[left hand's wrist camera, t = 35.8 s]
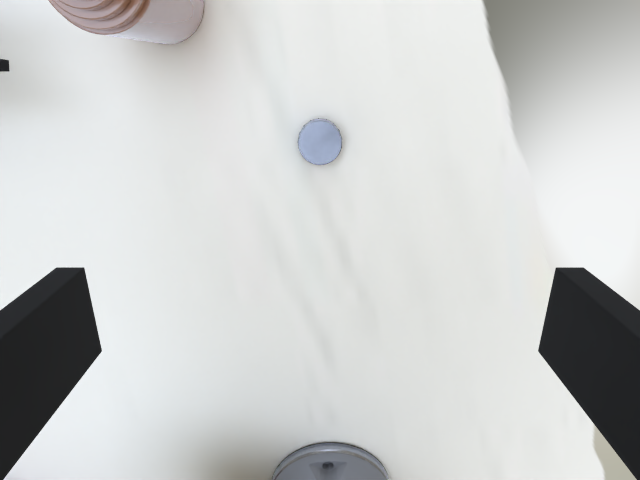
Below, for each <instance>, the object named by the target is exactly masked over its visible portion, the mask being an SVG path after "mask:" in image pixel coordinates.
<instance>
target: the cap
mask: <svg viewBox="0 0 640 480" xmlns="http://www.w3.org/2000/svg"><path fill="white" fill-rule="evenodd" d="M298 146H299V151H300V153H301V154H302V156H303V157H304V158H305V159H306V160H307V161H308V162H310V163H312V164H316V165H324V164H328V163H330V162H332V161H333V160H334V159H335V158H336V157H337V156H338V155H339V153H340V150H341V148H342V137H341V135H340V131H339V129H338V128H337V127H336V126H335V125H334V123H332V122H330V121H328V120H327V119H326V120H325V119H319V118H318V119H315V120H312V121H311V120H310V122H308V123H307V124H306V125H304V127H303V128H302V130H301V132H300V133H299V139H298Z"/></svg>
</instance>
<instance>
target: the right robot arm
mask: <svg viewBox="0 0 640 480" xmlns="http://www.w3.org/2000/svg"><path fill="white" fill-rule="evenodd" d="M0 71H9V60H3V59H0Z"/></svg>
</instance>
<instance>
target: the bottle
mask: <svg viewBox="0 0 640 480" xmlns="http://www.w3.org/2000/svg"><path fill="white" fill-rule="evenodd" d="M49 2H50V3H51V4H52V5H53V7H54V8H55V9H56V10H57V11H58V12H59V13H60V14H62V15H63V16H64V17H65V18H66V19H67V20H68V21H70V22H71V23H72V24H74V25H75V26H77V27H79V28H81V29H83V30H85V31H88V32H91V33H95V34H100V35H107V36H114V37H120V38H127V39H134V40H141V41H148V42H155V43H161V44H175V43H179V42H182V41H184V40H186V39H187V38H189V37H190V36H191V35H192V34H193V33H194V32H195V31H196V30H197V28H198V26H199V25H200V22H201V20H202V16H203V11H204V0H49Z"/></svg>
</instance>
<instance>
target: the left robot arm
mask: <svg viewBox="0 0 640 480" xmlns="http://www.w3.org/2000/svg"><path fill="white" fill-rule="evenodd" d="M101 351H102V350H101V345H100V340H99V336H98V331H97V326H96V321H95V317H94V312H93V307H92V303H91V298H90V293H89V288H88V284H87V279H86V274H85V270H84V268H55V269H54V270H53V271H52V272H50V273H49V274H48V275H46V276H45V277H44V278H42V279H41V280H40V281H38V282H37V283H36V284H34V285H33V286H32V287H31V288H29V289H28V290H27V291H25V292H24V293H23V294H21V295H20V296H19V297H17V298H16V299H15V300H14V301H12V302H11V303H10V304H8V305H7V306H6V307H4V308H3V309H2V310H0V480H3V479H4V478H5V476H6V475H7V474H8V473H9V471H10V470H11V469H12V467H13V466H14V465H15V463H16V462H17V461H18V460H19V458H20V457H21V456H22V454H23V453H24V452H25V450H26V449H27V448H28V446H29V445H30V444H31V443H32V441H33V440H34V439H35V437H36V436H37V435H38V433H39V432H40V431H41V430H42V428H43V427H44V426H45V424H46V423H47V422H48V420H49V419H50V418H51V417H52V415H53V414H54V413H55V411H56V410H57V409H58V407H59V406H60V405H61V403H62V402H63V401H64V400H65V398H66V397H67V396H68V394H69V393H70V392H71V390H72V389H73V388H74V387H75V385H76V384H77V383H78V381H79V380H80V379H81V377H82V376H83V375H84V374H85V372H86V371H87V370H88V368H89V367H90V366H91V364H92V363H93V362H94V360H95V359H96V358H97V357H98V355H99V354H100V353H101ZM538 351H539V353H540V354H541V355H542V357H543V358H544V359H545V360H546V362H547V363H548V364H549V366H550V367H551V368H552V370H553V371H554V372H555V374H556V375H557V376H558V377H559V379H560V380H561V381H562V383H563V384H564V385H565V387H566V388H567V389H568V390H569V392H570V393H571V394H572V396H573V397H574V398H575V400H576V401H577V402H578V403H579V405H580V406H581V407H582V409H583V410H584V411H585V413H586V414H587V415H588V417H589V418H590V419H591V420H592V422H593V423H594V424H595V426H596V427H597V428H598V430H599V431H600V432H601V433H602V435H603V436H604V437H605V439H606V440H607V441H608V443H609V444H610V445H611V446H612V448H613V449H614V450H615V452H616V453H617V454H618V456H619V457H620V458H621V460H622V461H623V462H624V463H625V465H626V466H627V467H628V469H629V470H630V471H631V473H632V474H633V475H634V476H635V478H636V479H637V480H640V310H638V309H637V308H636V307H634V306H633V305H632V304H630V303H629V302H628V301H626V300H625V299H624V298H623V297H621V296H620V295H619V294H617V293H616V292H615V291H613V290H612V289H611V288H609V287H608V286H607V285H606V284H604V283H603V282H602V281H600V280H599V279H598V278H596V277H595V276H594V275H592V274H591V273H590V272H588V271H587V270H586V269H585V268H556V270H555V274H554V279H553V284H552V288H551V293H550V298H549V303H548V307H547V312H546V317H545V321H544V326H543V331H542V336H541V340H540V345H539V350H538ZM272 480H389V478H388V475H387V472H386V470H385V468H384V467H383V465H382V464H381V463H380V462H379V461H378V460H377V459H376V458H375V457H374V456H372V455H371V454H369V453H368V452H366V451H364V450H362V449H360V448H357V447H354V446H351V445H347V444H340V443H321V444H315V445H311V446H307V447H304V448H302V449H300V450H297V451H296V452H294V453H292V454H291V455H289V456H288V457H287V458H285V459H284V460H283V461H282V462H281V463H280V465H279V466H278V467H277V469H276V471H275V473H274V475H273V478H272Z"/></svg>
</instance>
